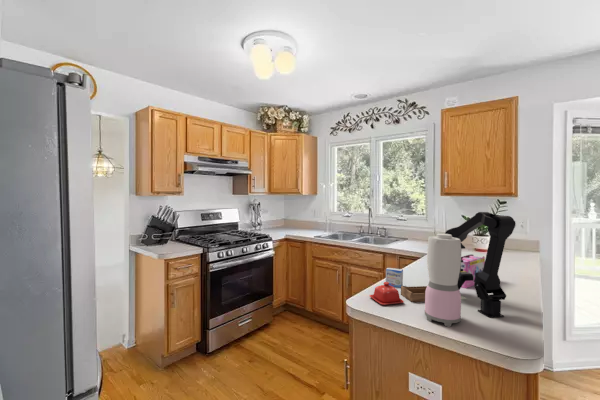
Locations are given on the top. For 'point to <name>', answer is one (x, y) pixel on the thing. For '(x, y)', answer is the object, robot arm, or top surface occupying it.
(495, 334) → the top surface
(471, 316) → the top surface
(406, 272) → the top surface
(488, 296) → the robot arm
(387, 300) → the butter dish
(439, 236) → the blender
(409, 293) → the walnut box
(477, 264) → the gum box
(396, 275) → the medicine box
